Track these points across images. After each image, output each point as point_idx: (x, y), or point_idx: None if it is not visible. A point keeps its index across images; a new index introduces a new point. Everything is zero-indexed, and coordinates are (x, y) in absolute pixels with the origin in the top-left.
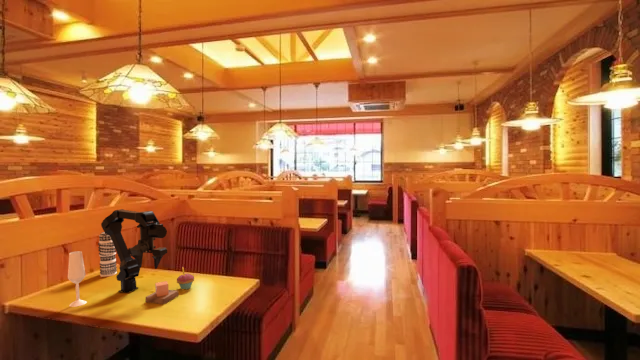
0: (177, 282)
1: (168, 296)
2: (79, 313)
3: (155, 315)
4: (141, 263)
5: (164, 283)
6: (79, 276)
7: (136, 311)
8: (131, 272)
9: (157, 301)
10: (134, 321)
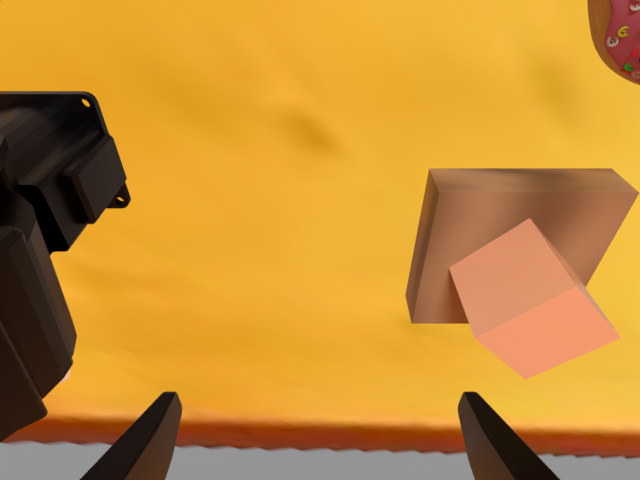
0: (612, 70)
1: None
2: None
3: (553, 381)
4: (154, 444)
5: (576, 334)
6: None
7: (429, 371)
8: (65, 337)
9: None
10: None
